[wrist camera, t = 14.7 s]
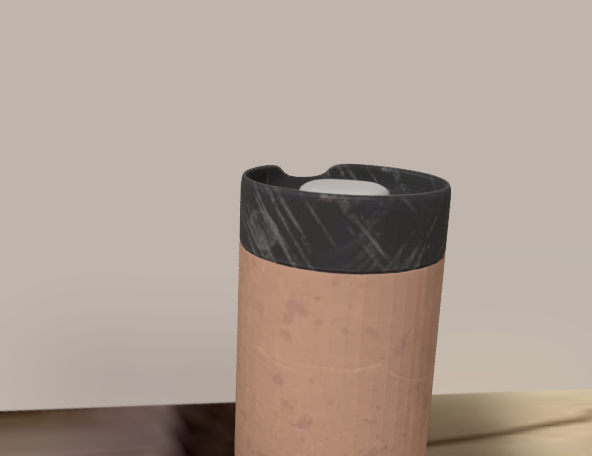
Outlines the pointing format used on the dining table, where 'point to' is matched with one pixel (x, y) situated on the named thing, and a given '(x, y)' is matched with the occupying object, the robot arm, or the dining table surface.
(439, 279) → the travel mug
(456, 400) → the dining table surface
